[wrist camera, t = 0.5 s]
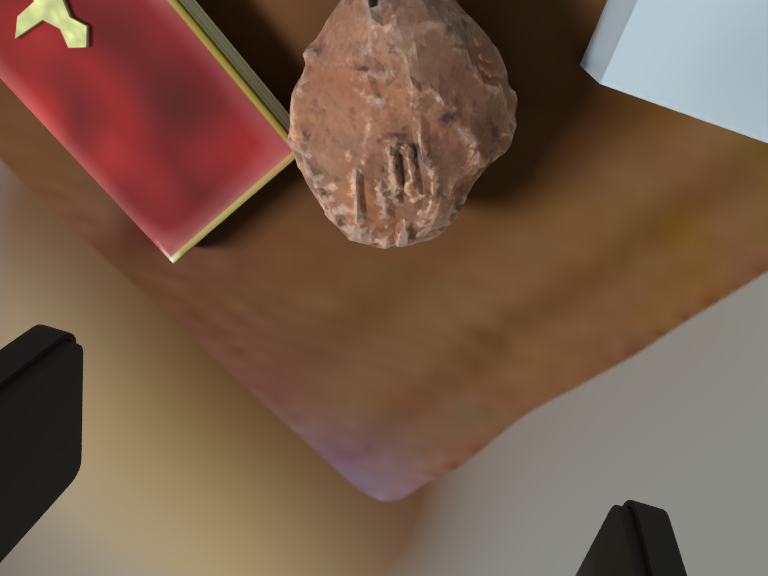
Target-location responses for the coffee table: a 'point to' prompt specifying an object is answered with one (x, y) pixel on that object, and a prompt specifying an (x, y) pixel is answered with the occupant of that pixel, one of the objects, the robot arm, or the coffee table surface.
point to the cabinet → (688, 58)
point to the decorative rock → (399, 117)
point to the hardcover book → (148, 107)
